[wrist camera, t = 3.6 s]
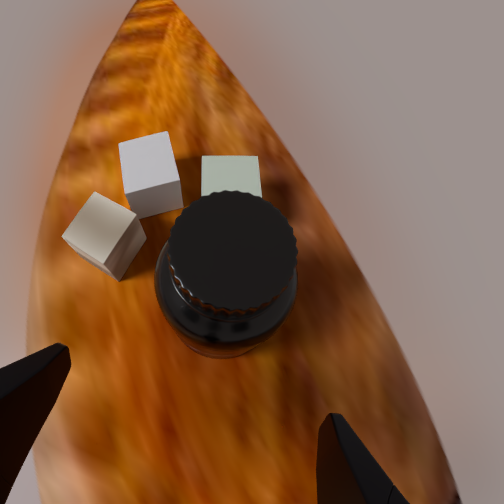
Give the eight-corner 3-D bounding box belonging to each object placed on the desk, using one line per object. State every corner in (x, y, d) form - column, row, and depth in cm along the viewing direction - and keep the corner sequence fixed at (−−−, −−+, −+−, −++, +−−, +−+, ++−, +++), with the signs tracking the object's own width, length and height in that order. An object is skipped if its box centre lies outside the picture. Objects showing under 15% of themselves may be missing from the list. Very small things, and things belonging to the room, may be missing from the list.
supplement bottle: (200, 377, 20) (185, 379, 9) (157, 291, 22) (109, 207, 11) (285, 331, 22) (357, 283, 11) (240, 252, 24) (264, 146, 13)
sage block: (254, 232, 25) (262, 203, 21) (202, 233, 24) (201, 203, 20) (250, 189, 26) (257, 156, 22) (202, 189, 26) (201, 155, 22)
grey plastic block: (183, 208, 25) (179, 179, 21) (136, 220, 24) (125, 194, 21) (171, 161, 27) (167, 131, 23) (128, 172, 26) (118, 143, 22)
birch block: (119, 282, 22) (103, 263, 18) (81, 257, 22) (61, 236, 19) (147, 239, 24) (136, 214, 20) (108, 217, 24) (94, 191, 20)
